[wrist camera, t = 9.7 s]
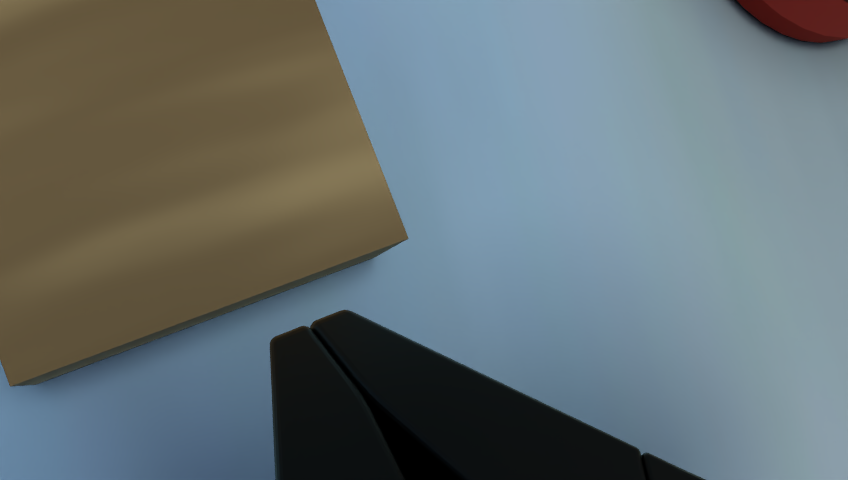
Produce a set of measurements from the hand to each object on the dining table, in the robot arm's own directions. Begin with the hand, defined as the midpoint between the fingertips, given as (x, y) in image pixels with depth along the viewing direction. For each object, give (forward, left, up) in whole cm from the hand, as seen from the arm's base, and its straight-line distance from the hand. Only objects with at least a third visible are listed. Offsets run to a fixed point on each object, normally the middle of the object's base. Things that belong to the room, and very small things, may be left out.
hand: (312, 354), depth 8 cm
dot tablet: (+1, -1, -7) cm, 7 cm away
